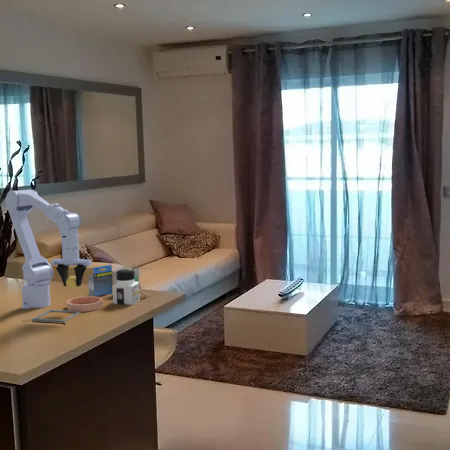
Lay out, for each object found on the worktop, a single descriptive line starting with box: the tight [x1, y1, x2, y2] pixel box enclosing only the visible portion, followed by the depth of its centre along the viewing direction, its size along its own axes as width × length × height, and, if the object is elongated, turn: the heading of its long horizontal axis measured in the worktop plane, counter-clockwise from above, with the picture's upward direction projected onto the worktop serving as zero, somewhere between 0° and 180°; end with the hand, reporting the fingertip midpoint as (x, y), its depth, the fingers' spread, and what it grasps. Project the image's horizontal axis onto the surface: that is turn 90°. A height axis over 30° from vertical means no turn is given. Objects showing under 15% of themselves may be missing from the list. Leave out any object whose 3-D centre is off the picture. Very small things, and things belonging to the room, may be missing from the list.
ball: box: [66, 275, 78, 289], centre depth 215 cm, size 4×4×4 cm
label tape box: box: [88, 264, 113, 297], centre depth 241 cm, size 9×4×12 cm, turn 136°
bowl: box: [66, 295, 104, 313], centre depth 221 cm, size 13×13×3 cm
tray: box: [31, 309, 82, 325], centre depth 210 cm, size 12×12×1 cm
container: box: [112, 268, 141, 305], centre depth 228 cm, size 8×8×13 cm
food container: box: [114, 266, 142, 284], centre depth 243 cm, size 12×6×10 cm, turn 148°
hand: (72, 285), depth 216 cm, fingers closed on ball, 4 cm apart
